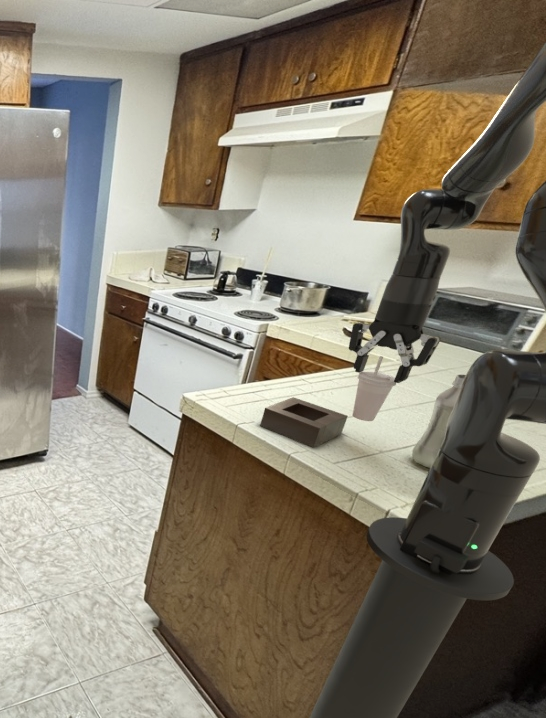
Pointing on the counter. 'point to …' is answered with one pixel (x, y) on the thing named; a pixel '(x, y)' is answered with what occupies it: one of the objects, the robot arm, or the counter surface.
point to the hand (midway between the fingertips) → (378, 376)
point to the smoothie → (371, 393)
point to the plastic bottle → (437, 425)
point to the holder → (303, 421)
